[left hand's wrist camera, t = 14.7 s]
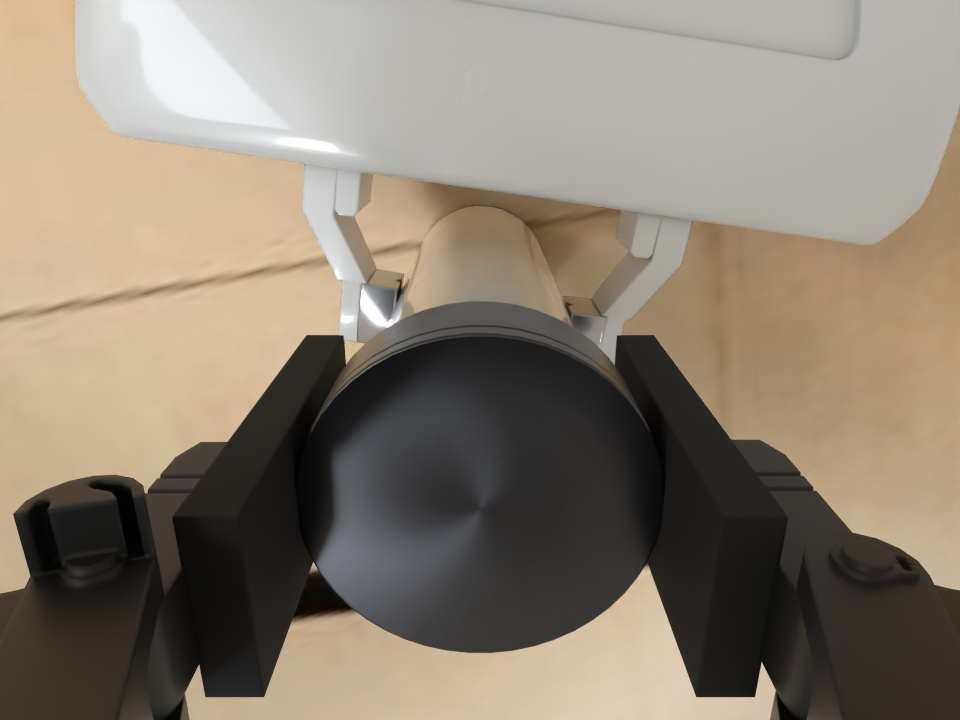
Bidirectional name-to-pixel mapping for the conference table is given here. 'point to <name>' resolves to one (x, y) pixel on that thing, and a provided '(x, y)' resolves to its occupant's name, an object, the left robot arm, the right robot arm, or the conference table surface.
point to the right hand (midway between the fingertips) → (477, 352)
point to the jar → (480, 266)
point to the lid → (480, 480)
